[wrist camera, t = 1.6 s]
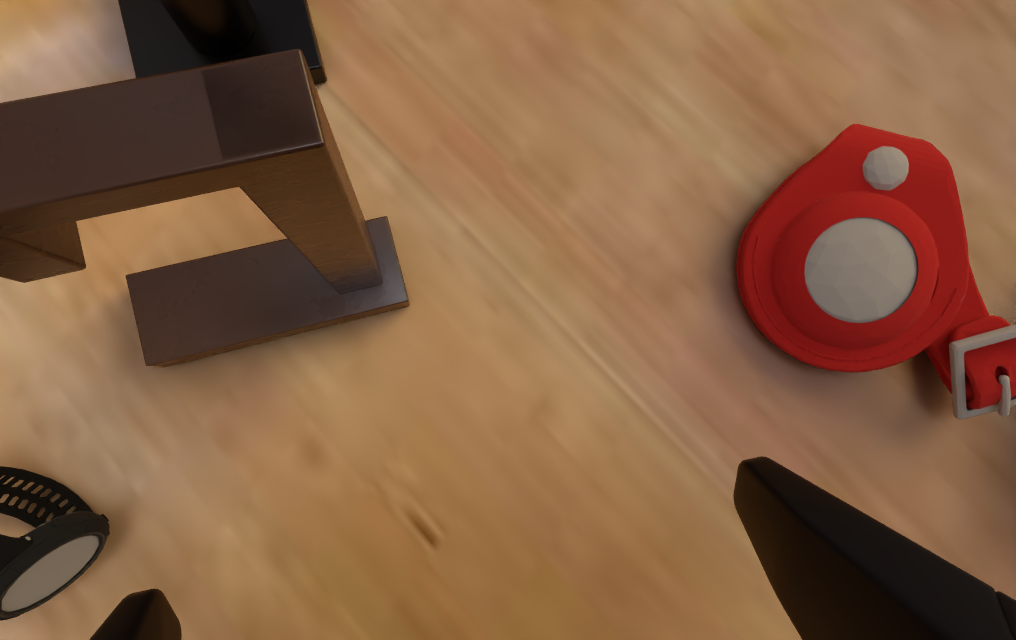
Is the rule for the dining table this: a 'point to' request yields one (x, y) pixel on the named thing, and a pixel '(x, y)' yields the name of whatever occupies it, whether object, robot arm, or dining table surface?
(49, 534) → the smartwatch
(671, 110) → the dining table surface
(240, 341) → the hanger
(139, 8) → the coat rack
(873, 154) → the tracker holder
